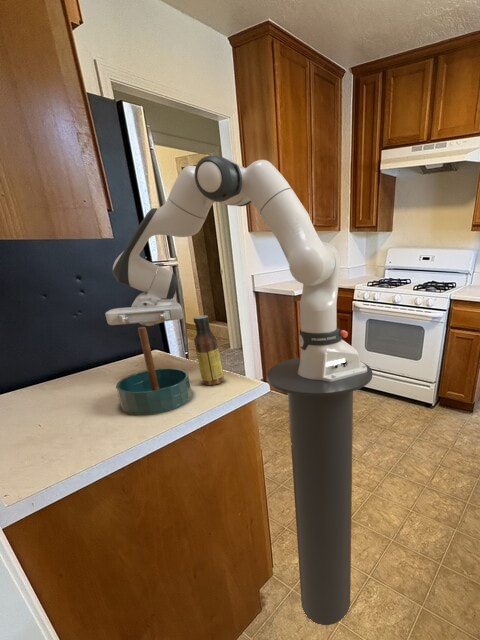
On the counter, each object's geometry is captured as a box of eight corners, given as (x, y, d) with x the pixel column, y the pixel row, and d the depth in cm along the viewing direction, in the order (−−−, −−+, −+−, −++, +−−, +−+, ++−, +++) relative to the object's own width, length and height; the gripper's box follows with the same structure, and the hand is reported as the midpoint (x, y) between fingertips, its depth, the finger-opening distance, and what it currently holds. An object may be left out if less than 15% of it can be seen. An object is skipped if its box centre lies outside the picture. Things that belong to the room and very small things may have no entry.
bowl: (190, 383, 105) (186, 364, 103) (193, 407, 90) (189, 385, 88) (125, 393, 99) (120, 373, 97) (118, 420, 84) (111, 397, 82)
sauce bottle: (224, 377, 109) (215, 313, 102) (224, 384, 104) (214, 317, 96) (202, 379, 108) (191, 315, 100) (200, 387, 102) (189, 319, 95)
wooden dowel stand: (168, 392, 98) (153, 324, 90) (167, 400, 93) (152, 328, 86) (147, 396, 96) (131, 326, 88) (146, 403, 91) (128, 331, 84)
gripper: (106, 303, 105) (98, 311, 93) (180, 298, 112) (181, 305, 100) (112, 324, 107) (104, 334, 95) (183, 317, 114) (185, 327, 102)
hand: (144, 319), depth 98 cm, fingers open, 8 cm apart
